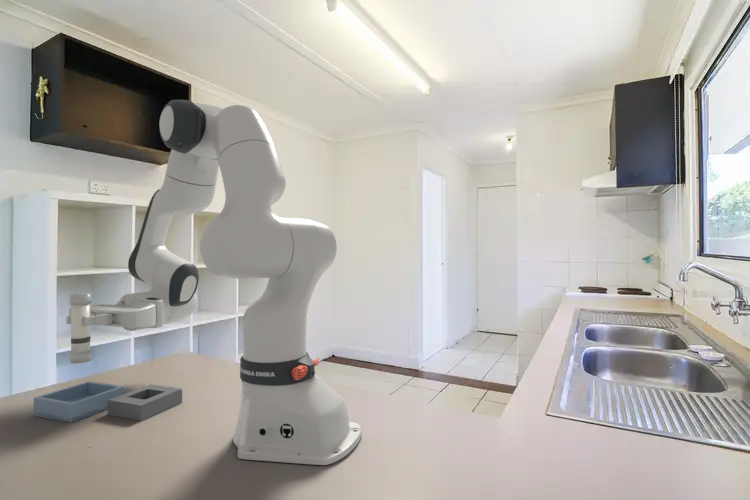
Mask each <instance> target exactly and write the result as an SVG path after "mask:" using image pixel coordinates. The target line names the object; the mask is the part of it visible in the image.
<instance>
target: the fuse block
mask: <svg viewBox="0 0 750 500" xmlns="http://www.w3.org/2000/svg"><path fill="white" fill-rule="evenodd" d="M182 403H183V388H179V387H172V386H166V385H165V386H164V385H159V384H158V385H157V384H152V383H151V384H148V385H145V386H143V387H139V388H137V389H134V390H131V391H128V392H125V393H124V394H123V395H120V396H117V397H115V398H112V399H109V400H108V409H107V415H108V416H111V417H117V418H123V419H129V420H134V421H138V422H143V421H145V420H147V419H149V418H151V417H154V416H155V415H158V414H160V413H162V412H164V411H167V410H169V409H171V408H174V407H176V406H177V405H178V406H179V405H180V404H182Z"/></svg>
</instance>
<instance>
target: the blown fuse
mask: <svg viewBox="0 0 750 500" xmlns="http://www.w3.org/2000/svg"><path fill="white" fill-rule="evenodd" d="M91 304H92V293H91V292H89V293H88V292H87V293H86V292H85V293H83V292H81V293H71V294H69V305H70V308H71V324H70V327H71V328H70V330H71V331H70V332H71V333H70V346H71V347H70V349H71V350H70V352H69V363H70V364H83V363H88V362H91V361H92V349H91V326H84V325H82V318H83V317H87V316H90V305H91Z"/></svg>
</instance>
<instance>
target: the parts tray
mask: <svg viewBox="0 0 750 500" xmlns="http://www.w3.org/2000/svg"><path fill="white" fill-rule="evenodd" d="M123 394H125V386H123V385H117V384H111V383H110V384H109V383H104V382H98V381H91V380H88V381H84V382H82V383H81V382H80V383H79V384H75V385H72V386H71V385H70V386H67V387H65V388H61V389H58V390H55V391H52V392H48V393H45V394H42V395H38V396H35V397H33V416H34V417H40V418H45V419H50V420H56V421H59V422H60V421H61V422H64V423H71V424H72V423H75V422H78V421H80V420H83V419H85V418H87V417H90V416H93V415H95V414H99V413H101V412H103V411H105V410H108V400H109V399H112V398H115V397H117V396H120V395H123Z"/></svg>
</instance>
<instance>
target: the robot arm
mask: <svg viewBox="0 0 750 500" xmlns="http://www.w3.org/2000/svg"><path fill="white" fill-rule="evenodd" d="M158 125H159V134H160V135H159V136H160V138H161V140H162V142H163V143H164V145H165V146H166V147H167V148H168V149H171V150H170V154H169V156H168V159H167V160H168V161H167V165H166V170H165V176H164V179H163V183H162V184H161V185H162V186H161V187H160V188H159V189H157V190H156V191H155V192H154V193H153V194H152V197H151V198H150V201H149V203H148V207H147V209H146V213H145V215H144V219H143V223H142V225H141V228H140V232H139V235H138V238H137V241H136V244H135V246H134V248H133V250H132V251H131V253H130V256H129V259H128V264H127V265H128V266H127V268H128V272H129V274H130V276H132V277H133V278H135V279H137V280H139V281H141V282H143V283H146V284H148V285H150V286H151V289H150V290H149V291H144V292H143V291H141V292H132V293H127V294H125V295H123V296H122V297H120V299H119V300H118V302H116V303H115V304H109V303H97V304H90V316H87V317H83V318H82V325H84V326H90V327H91V326H104V327H115V328H123V329H124V330H126V331H127V332H128V331H129V332H135V331H140V330H145V329H146V330H147V329H157V328H162V327H164V325H168V324H174V323H177V322H180V321H183V320H184V319H187V318H189V317H190V316H191V315H192V314H194V312H195V311H196V309H197V305H198V297H197V294H196V291H197V288H198V285H199V279H200V276H199V275H200V274H199V270H198V267H197V266H196V265H195V264H194V263H192V262H190V261H188V260H187V259H185V258H183V257H181V256H178V255H177V254H175V253H173V252H171V251H169V250H168V248H167V247H166V243H165V242H166V241H165V240H166V237H167V235H168V232H169V228H170V226H171V224H172V223H171V222H172V220H173V218H174V217H175V216H177V215H192V214H197V213H200V212H203V211H204V210H205V209H206V208H208V207H209V206H210V205H211V204H212V202H213V199H214V195H215V193H216V188H217V182H218V175H219V169H220V174H221V177H222V182H223V186H224V195H225V201H224V205H223V208H222V210H221V212H220V213H219V214H218V215H216V216H215V217H213V219H211V220H210V221H209V223H207V225H206V226H205V228H204V230H203V232H202V234H201V237H200V240H199V253H200V256H201V259H202V262H203V264H204V265H205V267H206V268H207V270H208V271H209V272H211V273H212V274H213V275H215V276H218V277H225V278H228V279H236V280H251V279H252V280H255V279H257V280H258V279H268V281H267V285H266V288H265V289H264V292H263V293H262V295H261V296H260V297H258V299H256V300H255V301H254V302H252V303H251V304H250V305H249V306H248V307H247V308H246V310H245V311H244V313H243V316H242V356H241V357H240V362H239V364H240V365H239V378H240V379H241V395H240V405H239V413H238V417H237V423H236V427H235V431H234V434H233V436H232V441H233V442H232V443H233V444H234V445H235V446H236V448H237V458H238V459H240V460H249V461H264V462H275V463H289V464H290V463H291V464H302V465H303V464H304V465H317V466H327V465H328V466H329V465H331V464H333V463H336V462H339V460H341V459H343V458H345V457H346V456H348V455H349V454H350V453H351V452H352V451H353V450H354V449H355V448H356V446H357V445H358V443H359V442H360V440H361V438H362V427H361V425H360V424H359V423H358V422H353V421H350V420H349V412H348V407H347V403H346V400H345V399H344V397H342V395H340V394H339V393H338V392H336V391H335V390H334V389H333V388H331V386H329V384H327V383H326V382H325V381H324V380H323V379H322V378H320V377H319V376H318V375H317V374H316V370H315V368H316V367H317V366H318V365H320V362H319V361H320V358H319V357H318V358H315V359H314V360H313V359H312V358H311V357H310V355H309V353H308V351H307V329H308V328H307V327H308V326H307V323H308V312H309V307H310V302H311V299H312V296H313V293H314V290H315V288H316V286H317V284H318V281H319V280H320V278H321V276H322V275H323V274H324V273H325V272H326V271H327V270H329V268H330V267H331V266H332V264H333V263H334V261H335V258H336V255H337V250H338V249H337V248H338V247H337V240H336V236H335V234H334V233H333V232H334V231H332V229H331V228H330V227H329V226H327V225H326V224H324V223H321V222H318V221H314V220H312V219H308V218H301V217H285V216H278V215H275V214H274V212H273V211H272V205H274V204H275V203H277V202H278V201H279V200H280V199H281V197H282V196H283V195H284V192H285V190H286V186H287V183H286V182H287V181H286V177H285V175H284V171H283V168H282V166H281V162H280V159H279V157H278V156H279V155H278V153H277V151H276V148H275V145H274V142H273V139H272V137H271V135H270V133H269V131H268V129H267V127H266V124H265V123H264V121H263V120H262V118H261V116H260V114H259V113H258V112H257V111H256V110H254V109H253V108H251V107H249V106H246V105H241V104H234V105H229V106H227V107H225V108H222V107H220V106H215V105H210V104H204V103H199V102H193V101H191V100H189V99H188V100H187V99H172V100H169V102H168V103H167V104H165V105H164V107H163V109H162V110H161V113H160V117H159V124H158ZM68 310H69V312H68V316H67V315H66V319H65V321H66V325H71V307H70V308H69V309H68Z"/></svg>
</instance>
